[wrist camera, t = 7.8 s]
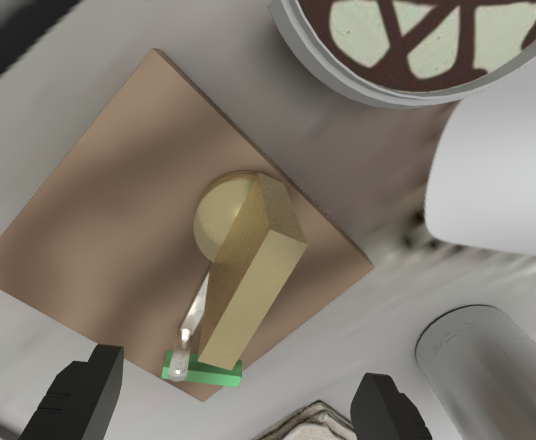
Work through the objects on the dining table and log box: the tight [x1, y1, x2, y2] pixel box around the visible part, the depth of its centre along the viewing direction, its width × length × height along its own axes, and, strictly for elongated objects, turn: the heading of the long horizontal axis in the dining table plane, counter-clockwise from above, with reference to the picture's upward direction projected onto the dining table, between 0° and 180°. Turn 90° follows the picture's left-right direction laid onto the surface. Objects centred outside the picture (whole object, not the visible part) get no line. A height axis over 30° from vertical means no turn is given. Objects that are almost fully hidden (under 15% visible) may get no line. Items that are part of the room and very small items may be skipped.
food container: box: [268, 0, 536, 109], centre depth 15 cm, size 12×6×10 cm, turn 115°
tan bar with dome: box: [168, 171, 308, 382], centre depth 19 cm, size 15×6×9 cm, turn 154°
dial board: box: [0, 49, 375, 402], centre depth 23 cm, size 20×19×4 cm
